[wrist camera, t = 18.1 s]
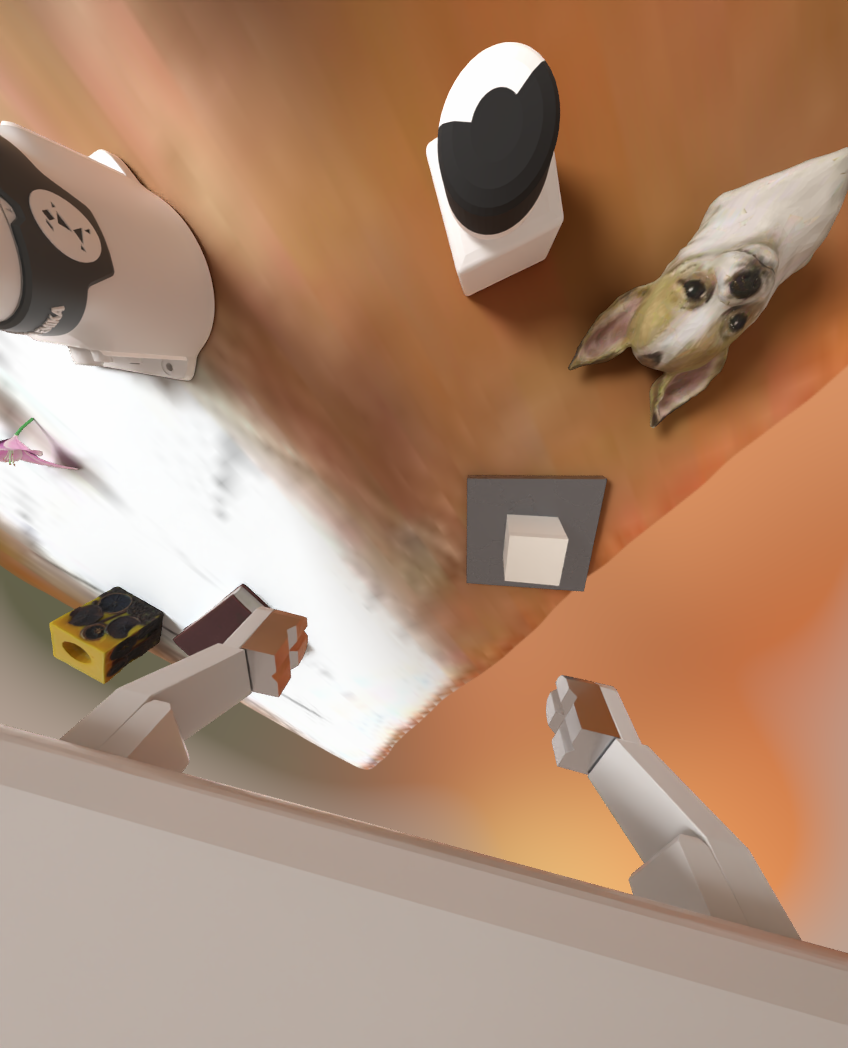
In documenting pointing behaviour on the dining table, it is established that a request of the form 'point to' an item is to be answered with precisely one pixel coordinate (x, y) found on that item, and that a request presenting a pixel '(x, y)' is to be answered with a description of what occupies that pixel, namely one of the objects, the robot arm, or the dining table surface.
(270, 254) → the dining table surface
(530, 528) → the cream rectangular prism
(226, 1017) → the robot arm
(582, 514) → the post plate
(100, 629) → the yellow holed cube
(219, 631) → the book
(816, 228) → the ceramic sculpture
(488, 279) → the medicine bottle
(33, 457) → the lily
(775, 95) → the dining table surface
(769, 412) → the dining table surface
